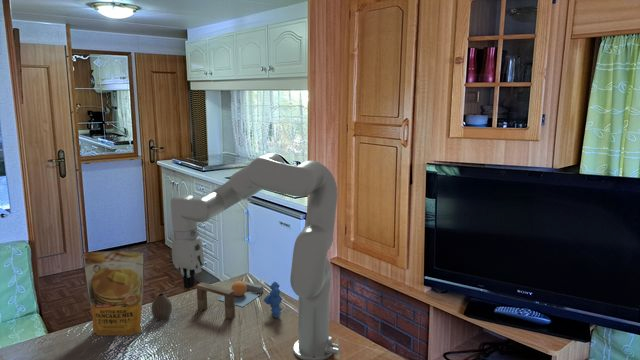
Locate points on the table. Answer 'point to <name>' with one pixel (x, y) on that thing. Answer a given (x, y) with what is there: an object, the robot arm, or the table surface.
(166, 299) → the vase
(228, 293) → the bridge
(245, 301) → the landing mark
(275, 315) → the blue lumpy cluster
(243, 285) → the ball
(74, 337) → the table surface
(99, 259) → the pancake mix bag
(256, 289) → the stopper wall
